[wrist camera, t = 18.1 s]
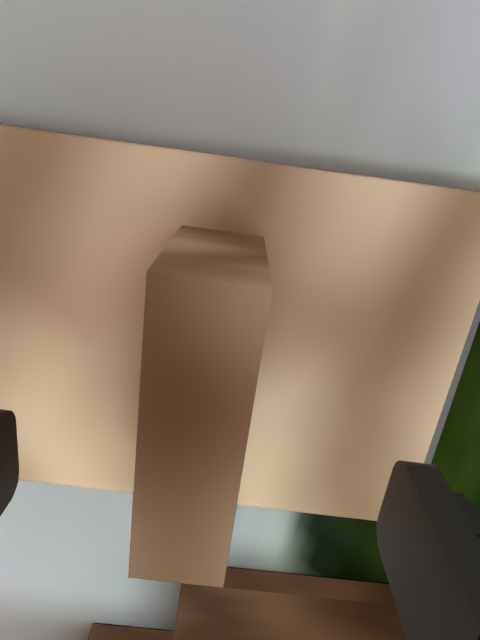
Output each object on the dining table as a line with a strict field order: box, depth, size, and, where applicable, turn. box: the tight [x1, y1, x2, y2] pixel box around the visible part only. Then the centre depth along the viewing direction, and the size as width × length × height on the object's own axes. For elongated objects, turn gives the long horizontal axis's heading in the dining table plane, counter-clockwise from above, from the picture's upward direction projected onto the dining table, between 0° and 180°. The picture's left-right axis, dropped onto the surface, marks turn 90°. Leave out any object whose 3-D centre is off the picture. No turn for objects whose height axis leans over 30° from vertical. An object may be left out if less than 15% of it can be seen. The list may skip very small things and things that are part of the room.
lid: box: [0, 124, 480, 588], centre depth 13 cm, size 16×12×6 cm
